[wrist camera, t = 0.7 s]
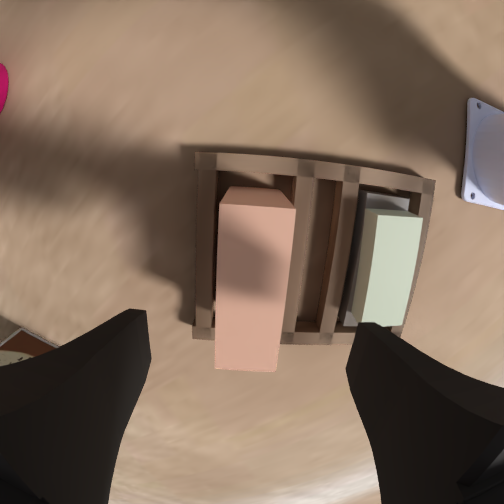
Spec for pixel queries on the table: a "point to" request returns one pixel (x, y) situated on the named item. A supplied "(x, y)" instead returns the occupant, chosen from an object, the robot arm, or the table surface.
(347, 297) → the lower offcut
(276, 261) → the pink rectangular prism
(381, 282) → the upper offcut
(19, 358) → the food container
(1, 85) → the pepper mill
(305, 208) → the rack
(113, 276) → the table surface
